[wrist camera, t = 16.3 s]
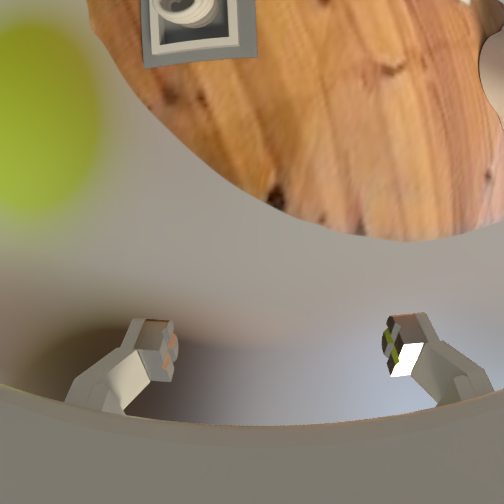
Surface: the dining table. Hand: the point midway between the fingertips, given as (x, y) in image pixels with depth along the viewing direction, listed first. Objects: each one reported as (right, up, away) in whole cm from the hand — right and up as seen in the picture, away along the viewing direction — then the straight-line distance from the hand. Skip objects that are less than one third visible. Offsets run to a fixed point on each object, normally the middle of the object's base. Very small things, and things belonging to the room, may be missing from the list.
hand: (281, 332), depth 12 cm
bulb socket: (-8, +32, +20) cm, 38 cm away
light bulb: (-7, +31, +18) cm, 37 cm away
